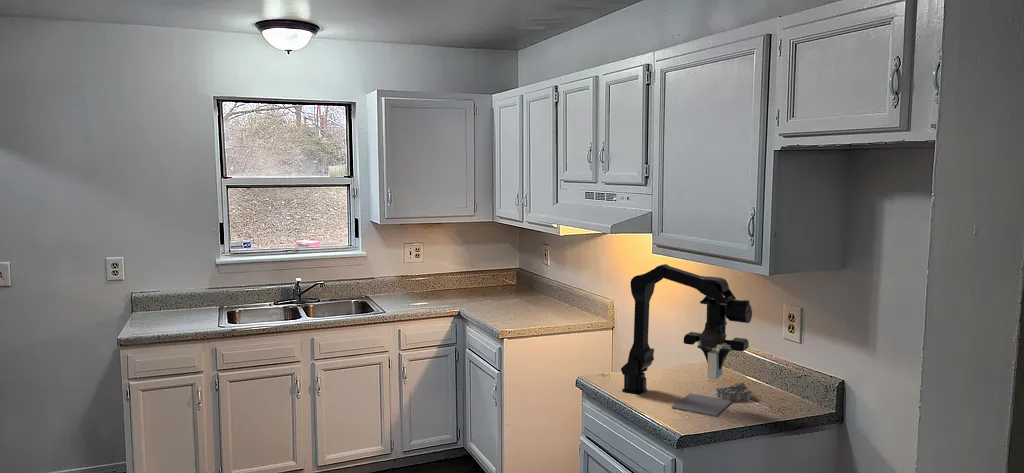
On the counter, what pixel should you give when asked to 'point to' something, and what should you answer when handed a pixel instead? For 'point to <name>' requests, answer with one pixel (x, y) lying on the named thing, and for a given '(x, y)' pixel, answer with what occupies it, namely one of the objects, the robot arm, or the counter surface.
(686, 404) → the mat
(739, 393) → the egg carton
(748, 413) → the counter surface
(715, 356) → the card box
